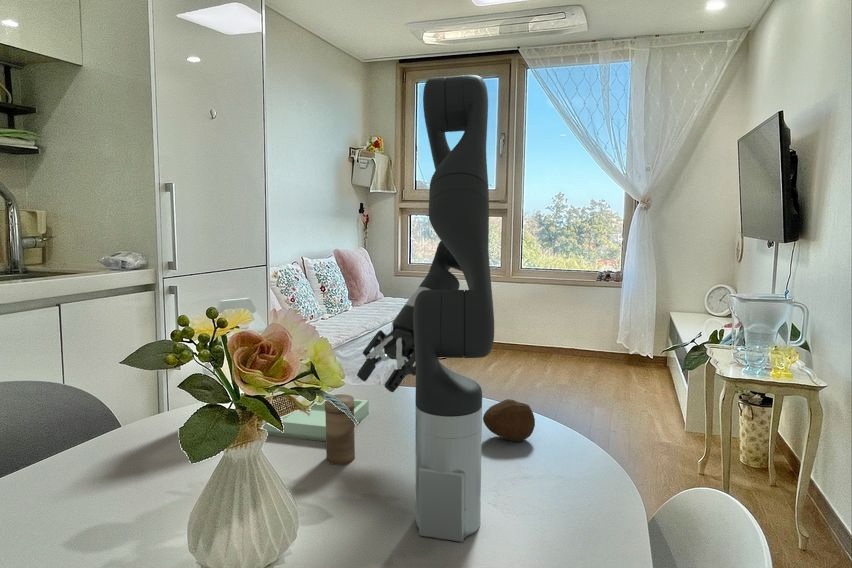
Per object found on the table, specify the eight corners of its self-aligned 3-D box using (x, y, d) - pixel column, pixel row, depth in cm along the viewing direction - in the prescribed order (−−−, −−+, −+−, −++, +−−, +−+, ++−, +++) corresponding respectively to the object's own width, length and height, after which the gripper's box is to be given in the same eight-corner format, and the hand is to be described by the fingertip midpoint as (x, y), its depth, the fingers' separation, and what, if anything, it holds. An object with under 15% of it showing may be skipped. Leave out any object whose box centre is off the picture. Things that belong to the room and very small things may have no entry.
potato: (538, 446, 104) (539, 406, 103) (487, 448, 103) (487, 408, 102) (527, 431, 111) (528, 393, 110) (479, 433, 110) (479, 394, 109)
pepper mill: (348, 466, 96) (347, 405, 94) (321, 462, 97) (319, 402, 96) (359, 453, 101) (358, 395, 99) (333, 450, 102) (332, 393, 101)
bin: (338, 442, 105) (338, 427, 105) (264, 434, 109) (263, 419, 109) (368, 413, 121) (368, 400, 120) (302, 407, 125) (301, 394, 124)
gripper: (387, 299, 112) (340, 365, 106) (435, 308, 101) (386, 381, 95) (407, 321, 116) (363, 386, 110) (455, 332, 105) (409, 404, 99)
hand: (374, 384), depth 102 cm, fingers open, 8 cm apart
